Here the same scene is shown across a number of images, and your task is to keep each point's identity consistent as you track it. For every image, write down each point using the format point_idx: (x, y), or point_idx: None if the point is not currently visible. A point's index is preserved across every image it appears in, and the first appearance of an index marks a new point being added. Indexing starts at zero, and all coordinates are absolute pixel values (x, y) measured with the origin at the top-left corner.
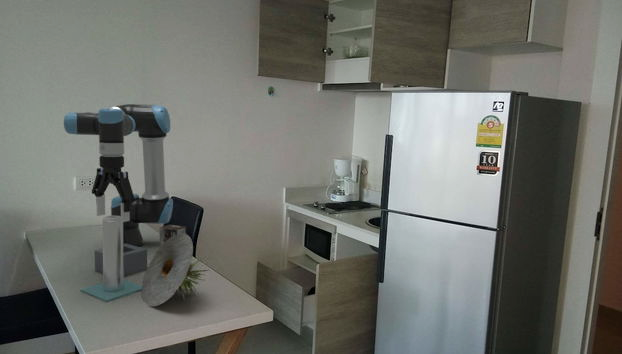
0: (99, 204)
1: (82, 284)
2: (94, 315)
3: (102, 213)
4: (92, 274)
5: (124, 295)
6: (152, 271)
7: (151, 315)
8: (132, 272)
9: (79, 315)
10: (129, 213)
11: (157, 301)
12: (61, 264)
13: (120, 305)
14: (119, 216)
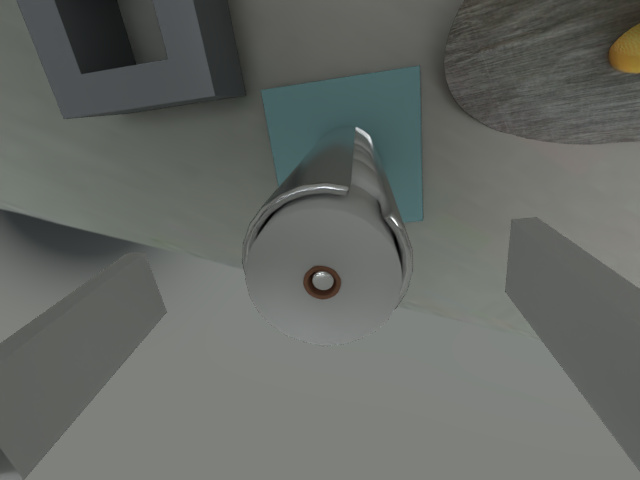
0: (93, 373)
1: (236, 202)
2: (478, 278)
3: (145, 284)
4: (158, 137)
5: (421, 159)
6: (507, 64)
7: (622, 177)
8: (228, 14)
9: (448, 300)
10: (585, 252)
11: (612, 135)
12: (7, 167)
13: (476, 203)
14: (330, 220)
